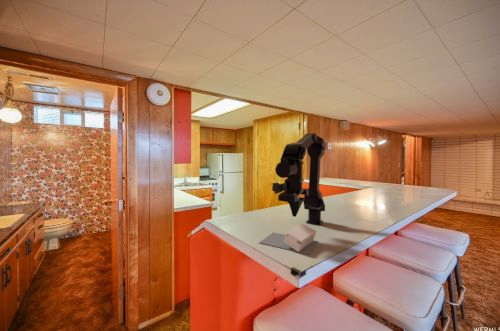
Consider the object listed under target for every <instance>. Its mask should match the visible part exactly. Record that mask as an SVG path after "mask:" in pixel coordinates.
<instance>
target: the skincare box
mask: <svg viewBox="0 0 500 331" xmlns="http://www.w3.org/2000/svg"><path fill="white" fill-rule="evenodd" d="M316 233H317V231H316V230H315V229H313V228H311V227H309V226H308V225H306V224H304V223H300V224H299V225H297V226H295V227H294V228H291V229H289V230H288V231H287V232H286V234H285V235H286V236H285V240H284V243H285V244H287V245H289V246H290V247H292V248H293V249H295V250H296V251H298V252H297V253H299V251H300V250H302V249H303V248H304V247H306V246H307V245H308V244H310V243H311V242H312V241H313V240H314V239H315V236H316Z"/></svg>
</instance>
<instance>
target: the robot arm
mask: <svg viewBox="0 0 500 331" xmlns="http://www.w3.org/2000/svg"><path fill="white" fill-rule="evenodd" d="M326 148H327V144H326V141H325V140H324V138H323V137H320V136H319V135H318V134H317V133H315V132H310V133H306V134H303V136H302V137H301V138H299V139H298V140H297V141H296V142H290V143H288V144H285V147H284V149H283V151H282V154H281V157H280V161H279V162H278V163H277V164H276V166H275V169H274V170H275V173H276V175H277V176H278V178H281V179H284V182H283V183H279V182H275V183H272V186H271V191H272V192H274V195H277V194H278V195H277V196H278V198H277V201H279V202H287V203H288V205H289V208H290V211H291V216H292V217H296V216H298V213H299V211H300V208H301V206H302V204H303V208H304V209H303V210H308V214H307V216H308V218H307V220H306V221H305V222H306V223H307V224H312V225H318V226H319V225H322V223H323V222H324V220H323V219H321V218H322V212H326V204H325V201H324V198H323V194H322V192H321V190H320V176H321V172H320V171H321V159H322V157H324V155H325V150H326ZM306 155H308V156H309V158H310V159H309V178H308V188H305V187H303V182H304V181H305V178H303V165H304V161H303V160H304V158H305V156H306ZM302 195H304V196H303V197H302Z"/></svg>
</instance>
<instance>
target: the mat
mask: <svg viewBox="0 0 500 331" xmlns="http://www.w3.org/2000/svg"><path fill="white" fill-rule="evenodd" d="M285 236H286V234H284V233H283V234H282V233H278V232H272V233H270V234H268V236H267V235H266V237H265V238H263V239H261V241H258V244H260V245H265V246H270V247H273V248H278V249H282V250H285V251H286V250H287V251H290V252H294V253H300V254H304V255H308V256H310V255H311V253H312V252H313V250H314V249H315V247H316V246H317V244H318V243H319V241H318V240H313V241H312V242H311V243H310V244H308V245H307V246H306V247H304V248H303V249H302V250H300V251H299V252H298V251H296V250H295V249H293V248H292V247H290V246H289V245H287V244H285V243H284V240H285Z"/></svg>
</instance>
